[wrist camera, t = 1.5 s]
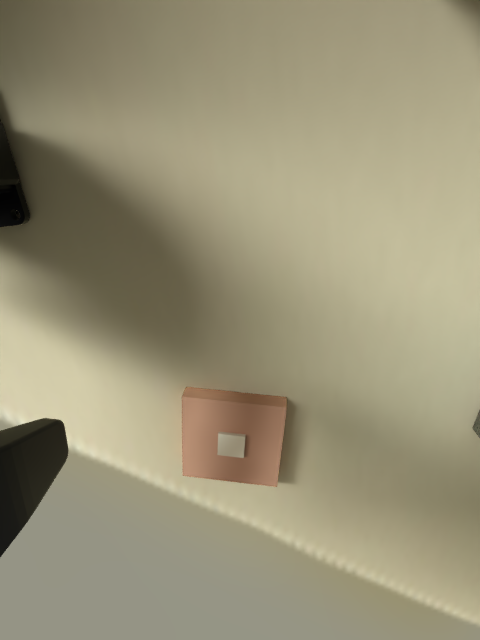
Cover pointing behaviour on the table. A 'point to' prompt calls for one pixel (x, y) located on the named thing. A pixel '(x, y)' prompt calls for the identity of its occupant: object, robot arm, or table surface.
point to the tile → (232, 435)
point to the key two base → (477, 425)
